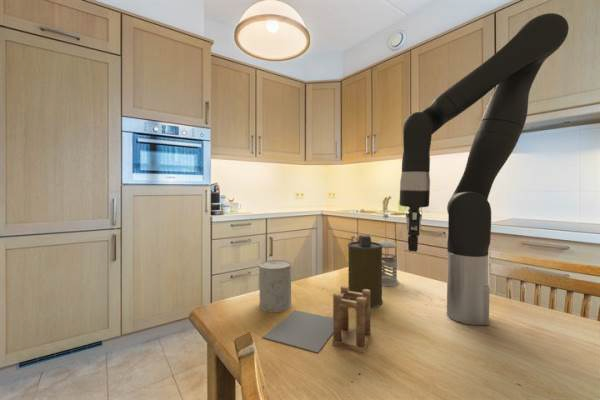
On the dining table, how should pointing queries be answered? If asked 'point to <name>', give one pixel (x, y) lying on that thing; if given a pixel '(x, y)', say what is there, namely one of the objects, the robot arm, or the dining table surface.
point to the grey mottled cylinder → (275, 285)
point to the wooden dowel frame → (341, 330)
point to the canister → (366, 268)
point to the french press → (389, 262)
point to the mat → (302, 331)
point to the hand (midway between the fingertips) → (412, 247)
